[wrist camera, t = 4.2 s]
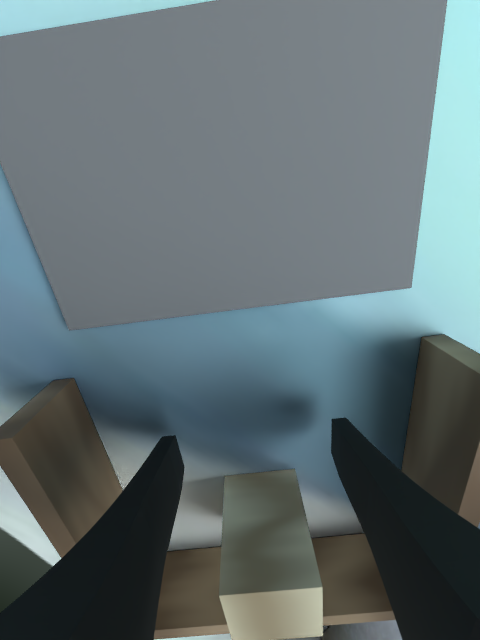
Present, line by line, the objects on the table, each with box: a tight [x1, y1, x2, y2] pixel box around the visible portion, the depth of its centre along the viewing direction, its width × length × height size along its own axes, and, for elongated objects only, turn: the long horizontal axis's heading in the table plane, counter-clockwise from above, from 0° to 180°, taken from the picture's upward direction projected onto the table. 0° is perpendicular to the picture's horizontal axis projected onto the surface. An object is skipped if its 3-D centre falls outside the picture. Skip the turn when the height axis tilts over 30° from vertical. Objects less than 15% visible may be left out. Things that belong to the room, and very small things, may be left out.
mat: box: [0, 0, 447, 330], centre depth 9 cm, size 14×9×1 cm, turn 97°
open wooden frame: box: [0, 334, 480, 639], centre depth 13 cm, size 18×15×4 cm
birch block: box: [219, 469, 323, 640], centre depth 13 cm, size 4×4×5 cm
